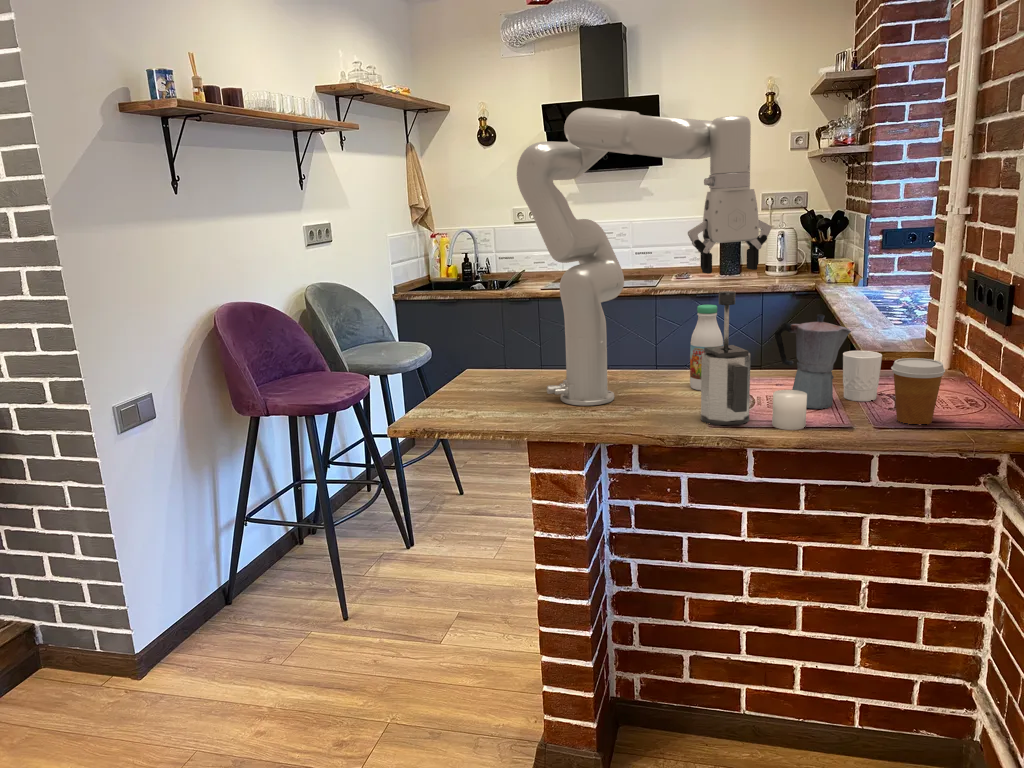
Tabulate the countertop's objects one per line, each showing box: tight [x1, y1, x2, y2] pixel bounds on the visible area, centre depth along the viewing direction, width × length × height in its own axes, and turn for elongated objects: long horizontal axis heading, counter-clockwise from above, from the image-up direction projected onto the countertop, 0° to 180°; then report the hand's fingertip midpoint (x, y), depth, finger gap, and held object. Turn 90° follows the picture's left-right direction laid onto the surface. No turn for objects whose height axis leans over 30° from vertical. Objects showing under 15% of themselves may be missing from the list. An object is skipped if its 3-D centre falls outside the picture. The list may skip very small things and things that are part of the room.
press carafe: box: [700, 344, 752, 426], centre depth 164 cm, size 10×12×15 cm
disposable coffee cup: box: [890, 357, 946, 425], centre depth 158 cm, size 10×10×12 cm
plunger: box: [709, 290, 743, 358], centre depth 162 cm, size 7×7×14 cm
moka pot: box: [774, 313, 852, 410], centre depth 172 cm, size 10×15×20 cm, turn 78°
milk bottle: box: [689, 304, 724, 391], centre depth 191 cm, size 8×8×20 cm
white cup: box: [842, 350, 883, 402], centre depth 177 cm, size 8×8×10 cm
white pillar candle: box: [771, 389, 807, 431], centre depth 160 cm, size 6×6×7 cm
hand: (729, 271), depth 159 cm, fingers open, 9 cm apart
